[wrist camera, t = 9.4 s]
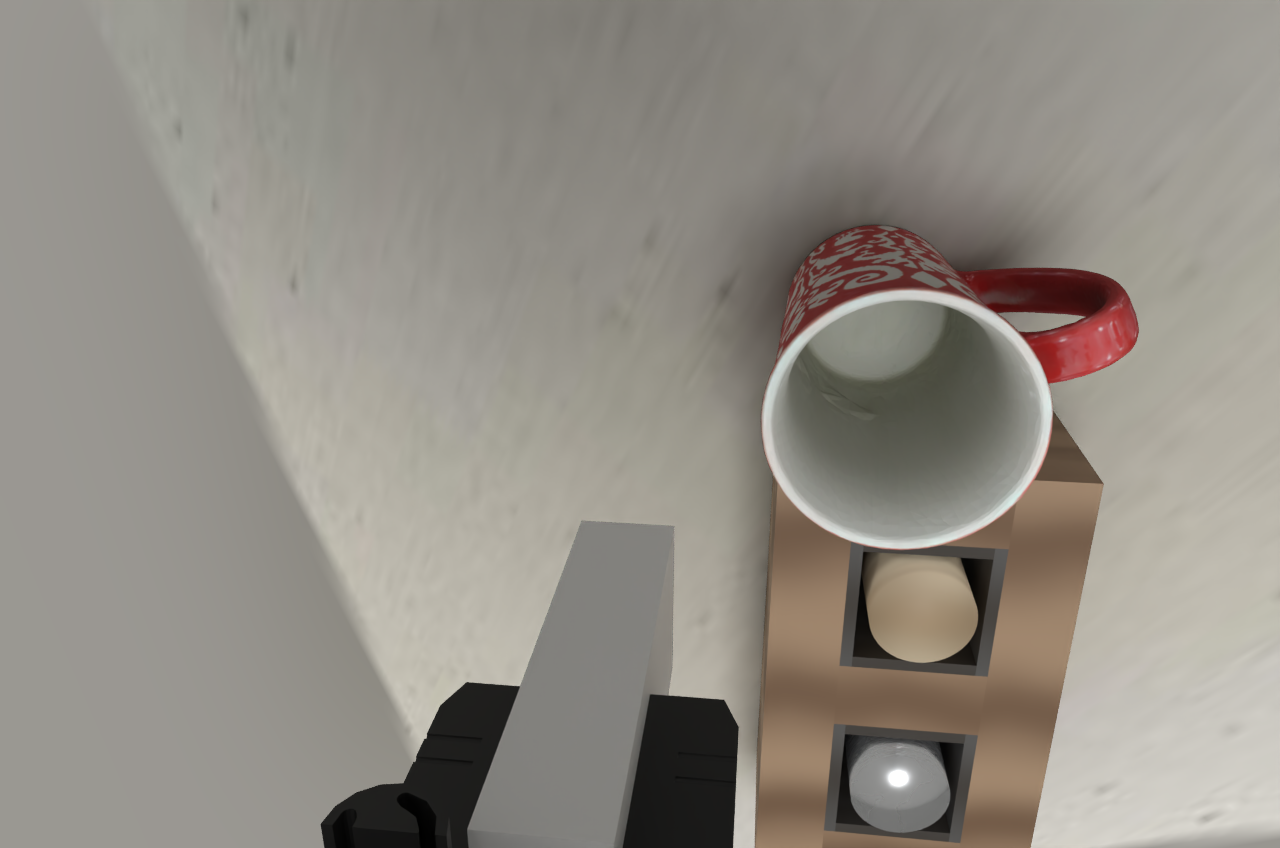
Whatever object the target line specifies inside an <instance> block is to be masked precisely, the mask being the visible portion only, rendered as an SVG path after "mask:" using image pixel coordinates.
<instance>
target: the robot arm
mask: <svg viewBox="0 0 1280 848" xmlns="http://www.w3.org/2000/svg"><path fill="white" fill-rule="evenodd" d="M673 587H674V526H664V525H647V524H630V523H613V522H595V521H581V524H580V527H579V529H578V532H577V535H576V538H575V540H574V543H573V546H572V548H571V551H570V554H569V556H568V559H567V562H566V564H565V567H564V570H563V573H562V575H561V578H560V581H559V583H558V586H557V589H556V591H555V594H554V597H553V599H552V602H551V605H550V608H549V610H548V613H547V616H546V618H545V621H544V624H543V626H542V629H541V632H540V634H539V637H538V640H537V643H536V645H535V648H534V651H533V653H532V656H531V659H530V661H529V664H528V667H527V669H526V672H525V675H524V678H523V680H522V683H521V686H507V685H495V684H482V683H469V682H466V683H465V684H464V685H463V686H462V687H461V688H460V689H459V690H457V691H456V692H455V693H454V694H453V695H452V696H451V697H449V698H448V699H447V700H446V701H445V702H444V703H443V704H442V705H440V707H439V710H438V712H437V714H436V716H435V718H434V720H433V722H432V724H431V726H430V728H429V731H428V733H427V739H424V741H423V743H422V745H421V747H420V750H419V752H418V754H417V756H416V762H413V764H412V767H411V768H410V771H409V773H408V775H407V777H406V779H405V781H404V783H402V784H383V785H378V786H375V787H372V788H369V789H366V790H363V791H360V792H357V793H355V794H354V795H352V796H350V797H349V798H347V799H346V800H344V801H343V802H341V803H340V804H338V805H337V806H335V807H334V808H333V810H332V811H331V812H330V813H329V815H328V816H327V817H326V818H325V819H324V821H323V822H322V823H321V829H322V835H323V841H324V847H325V848H733V835H734V814H735V793H736V772H737V750H738V729H739V727H738V725H737V723H736V721H735V719H734V718H733V716H732V714H731V712H730V710H729V708H728V706H727V704H726V702H725V701H724V700H719V699H706V698H693V697H680V696H668V693H669V686H670V680H671V673H672V658H673Z"/></svg>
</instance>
